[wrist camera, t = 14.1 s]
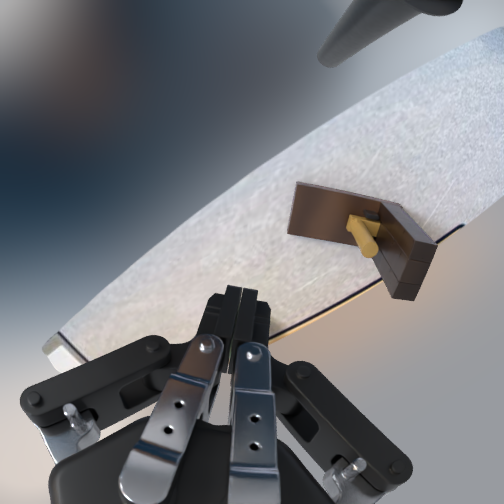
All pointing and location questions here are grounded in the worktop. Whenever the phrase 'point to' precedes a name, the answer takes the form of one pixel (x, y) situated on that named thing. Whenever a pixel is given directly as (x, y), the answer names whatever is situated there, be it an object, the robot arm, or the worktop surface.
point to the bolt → (364, 234)
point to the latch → (388, 236)
